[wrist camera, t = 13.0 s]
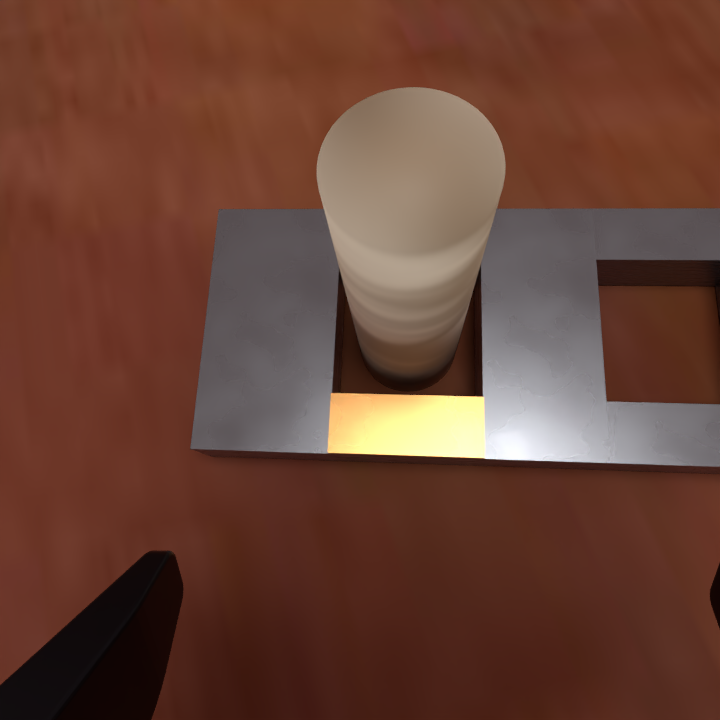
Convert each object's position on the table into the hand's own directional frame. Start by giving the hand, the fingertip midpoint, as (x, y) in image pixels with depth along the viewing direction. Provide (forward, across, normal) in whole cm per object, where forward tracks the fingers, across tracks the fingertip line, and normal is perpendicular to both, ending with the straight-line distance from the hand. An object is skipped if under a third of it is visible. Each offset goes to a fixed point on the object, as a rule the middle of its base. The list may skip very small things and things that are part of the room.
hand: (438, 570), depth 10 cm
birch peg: (+15, 0, +4) cm, 16 cm away
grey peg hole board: (+15, -5, +4) cm, 16 cm away
